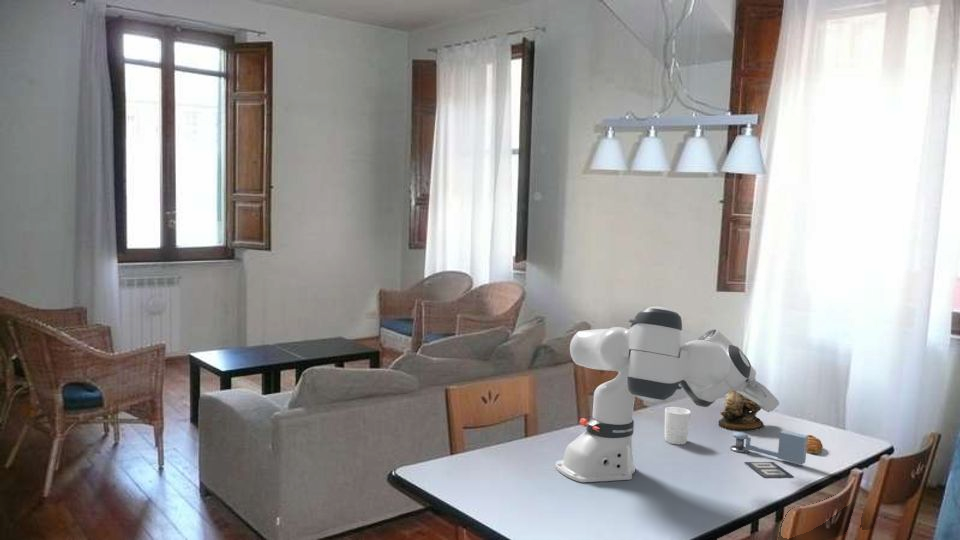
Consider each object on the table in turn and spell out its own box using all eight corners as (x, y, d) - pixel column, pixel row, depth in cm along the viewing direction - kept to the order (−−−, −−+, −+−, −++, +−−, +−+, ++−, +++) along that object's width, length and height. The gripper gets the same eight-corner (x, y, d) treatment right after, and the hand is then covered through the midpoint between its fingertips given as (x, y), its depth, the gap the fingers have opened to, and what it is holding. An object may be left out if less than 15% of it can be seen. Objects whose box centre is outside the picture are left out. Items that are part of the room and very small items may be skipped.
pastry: (826, 456, 226) (827, 444, 225) (803, 454, 227) (804, 442, 227) (818, 446, 235) (819, 435, 234) (796, 444, 236) (797, 432, 236)
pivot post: (739, 453, 224) (740, 441, 224) (726, 448, 229) (727, 436, 228) (751, 451, 226) (752, 439, 226) (739, 446, 231) (740, 434, 231)
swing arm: (729, 446, 227) (731, 421, 226) (735, 443, 231) (737, 418, 230) (801, 465, 214) (803, 438, 213) (806, 461, 217) (808, 435, 216)
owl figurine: (745, 417, 263) (749, 370, 261) (773, 427, 253) (778, 379, 251) (709, 423, 254) (714, 374, 252) (737, 434, 244) (742, 383, 242)
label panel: (763, 477, 205) (763, 475, 205) (744, 463, 216) (744, 461, 216) (793, 477, 207) (793, 475, 207) (773, 462, 217) (773, 461, 217)
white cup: (686, 438, 237) (688, 407, 236) (690, 446, 229) (692, 415, 228) (660, 436, 237) (663, 405, 236) (664, 444, 230) (666, 413, 229)
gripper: (766, 377, 199) (796, 413, 202) (730, 359, 219) (758, 392, 222) (749, 393, 199) (779, 428, 201) (715, 374, 219) (743, 406, 222)
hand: (768, 409), depth 212 cm, fingers closed
